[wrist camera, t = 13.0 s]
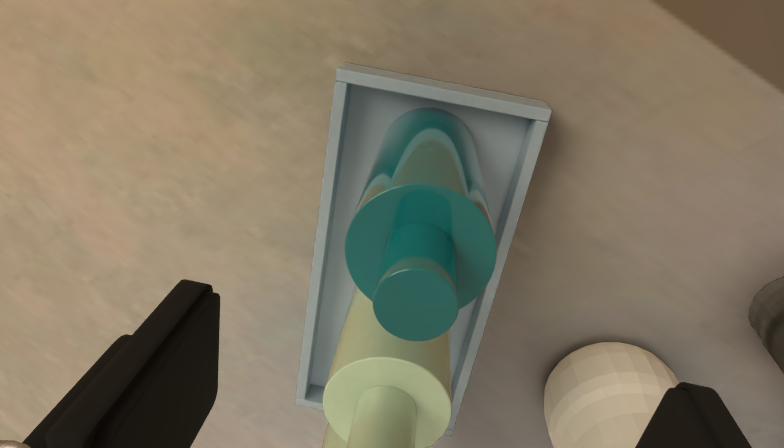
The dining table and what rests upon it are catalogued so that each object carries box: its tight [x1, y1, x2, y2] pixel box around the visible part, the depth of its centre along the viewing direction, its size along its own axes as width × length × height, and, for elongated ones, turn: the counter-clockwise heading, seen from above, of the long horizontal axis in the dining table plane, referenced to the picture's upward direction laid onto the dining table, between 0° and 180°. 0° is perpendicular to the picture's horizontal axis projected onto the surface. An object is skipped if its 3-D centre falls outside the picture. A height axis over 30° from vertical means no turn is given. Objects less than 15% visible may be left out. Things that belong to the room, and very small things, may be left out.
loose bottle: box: [344, 108, 497, 341], centre depth 21 cm, size 5×5×14 cm
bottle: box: [323, 284, 452, 448], centre depth 24 cm, size 5×5×14 cm
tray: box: [295, 62, 552, 436], centre depth 29 cm, size 21×10×2 cm, turn 170°
